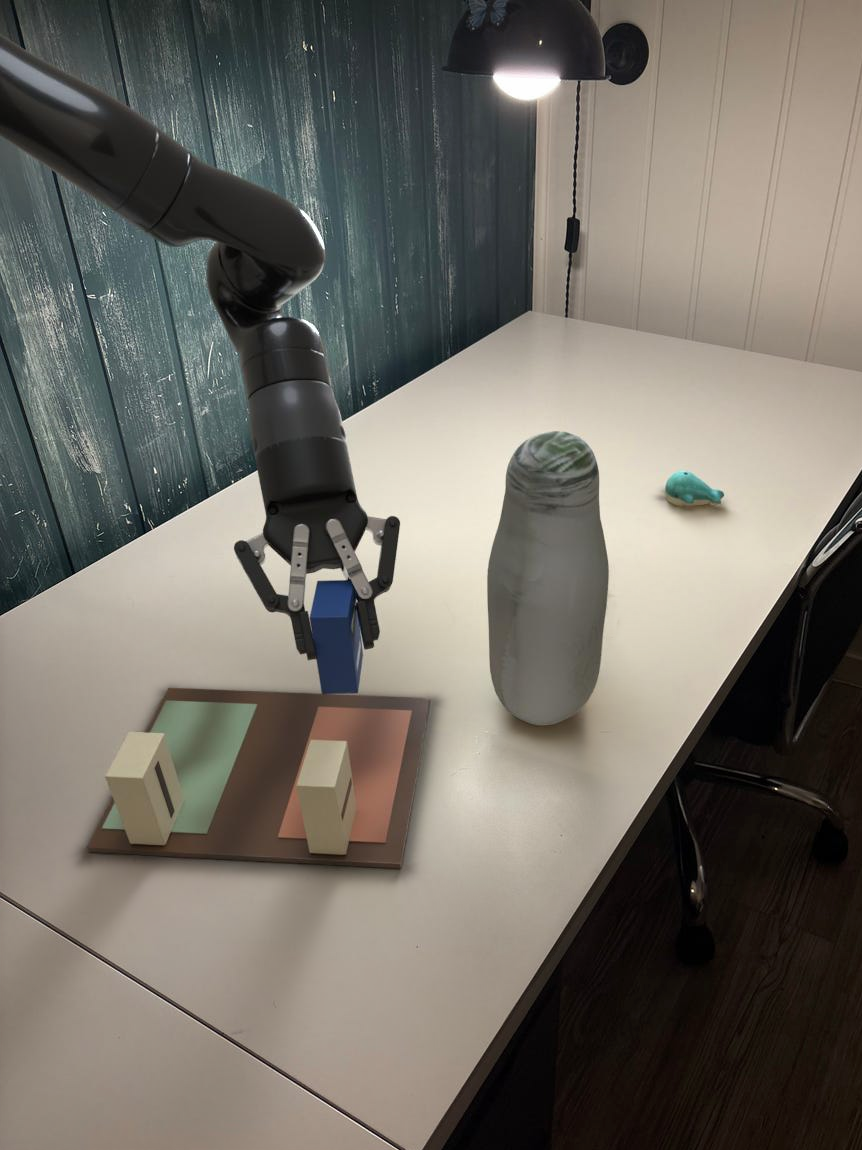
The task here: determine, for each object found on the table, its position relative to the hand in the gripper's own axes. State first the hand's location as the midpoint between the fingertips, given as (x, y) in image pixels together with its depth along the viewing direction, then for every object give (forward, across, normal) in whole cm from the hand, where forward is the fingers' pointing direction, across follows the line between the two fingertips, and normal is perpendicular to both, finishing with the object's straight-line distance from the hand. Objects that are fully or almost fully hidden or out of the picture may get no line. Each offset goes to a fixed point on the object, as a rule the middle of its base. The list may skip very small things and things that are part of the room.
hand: (340, 652), depth 76 cm
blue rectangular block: (+1, 0, -4) cm, 5 cm away
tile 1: (+10, +17, -8) cm, 22 cm away
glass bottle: (+8, -19, -12) cm, 24 cm away
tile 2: (+14, +3, -5) cm, 15 cm away
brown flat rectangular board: (+8, +7, -11) cm, 16 cm away
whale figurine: (-15, -49, -35) cm, 62 cm away
